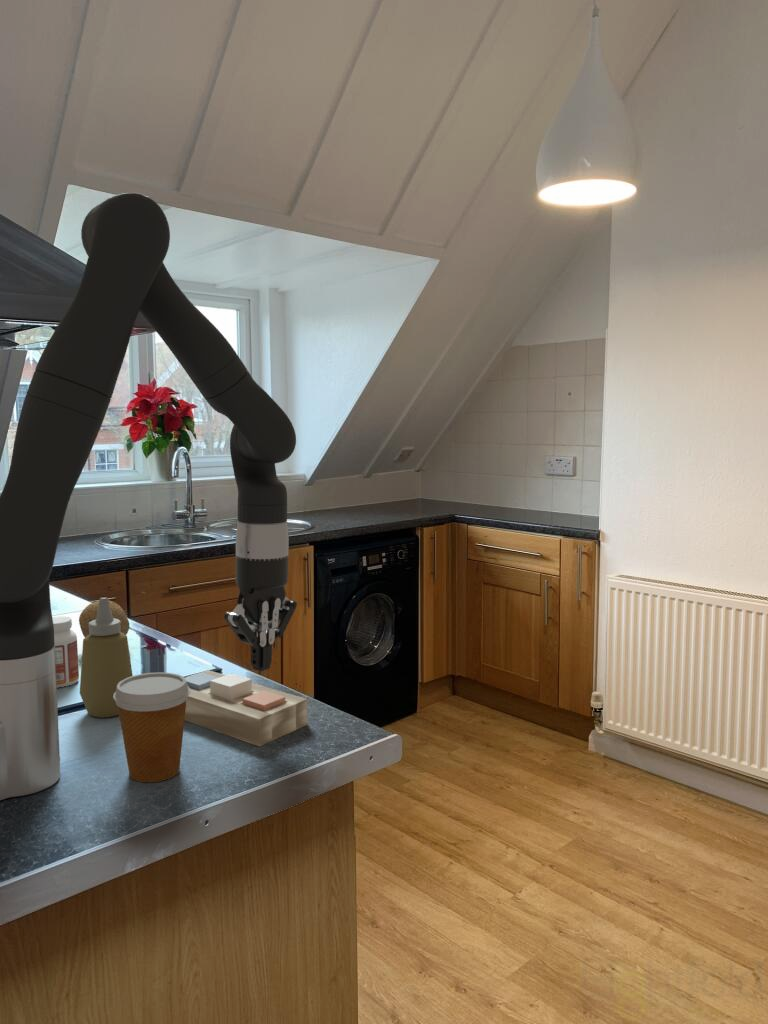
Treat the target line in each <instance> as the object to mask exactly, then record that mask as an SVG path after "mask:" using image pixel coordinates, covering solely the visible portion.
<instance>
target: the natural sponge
mask: <svg viewBox="0 0 768 1024" xmlns="http://www.w3.org/2000/svg"><path fill="white" fill-rule="evenodd" d="M108 601H109V605H110V608H111V612H112V616H113V618H115V619H119V620H120V624H121V631H120V632H122V633H124V634H125V635H126V636H127V634H128V633H129V630H130V621H129V618H128V617H127V615H126V612H125V611H124V609H123V607H121V606H120V605H119V604H118V603H116V602H115V601H111V600H109V599H108ZM98 606H99V600H97V601H94V602H92V603H89V604H88V605H87V606H85V608H84V609H83V610H82V611H81V612H80V614H79V617H78V622H79V623H78V624H79V627H80V630H81V634H82V635H83V637H84V638H85V637H86V636H88V635H89V634H90V633H89V622H91V621H93V620H96V617H97V611H98Z"/></svg>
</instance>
